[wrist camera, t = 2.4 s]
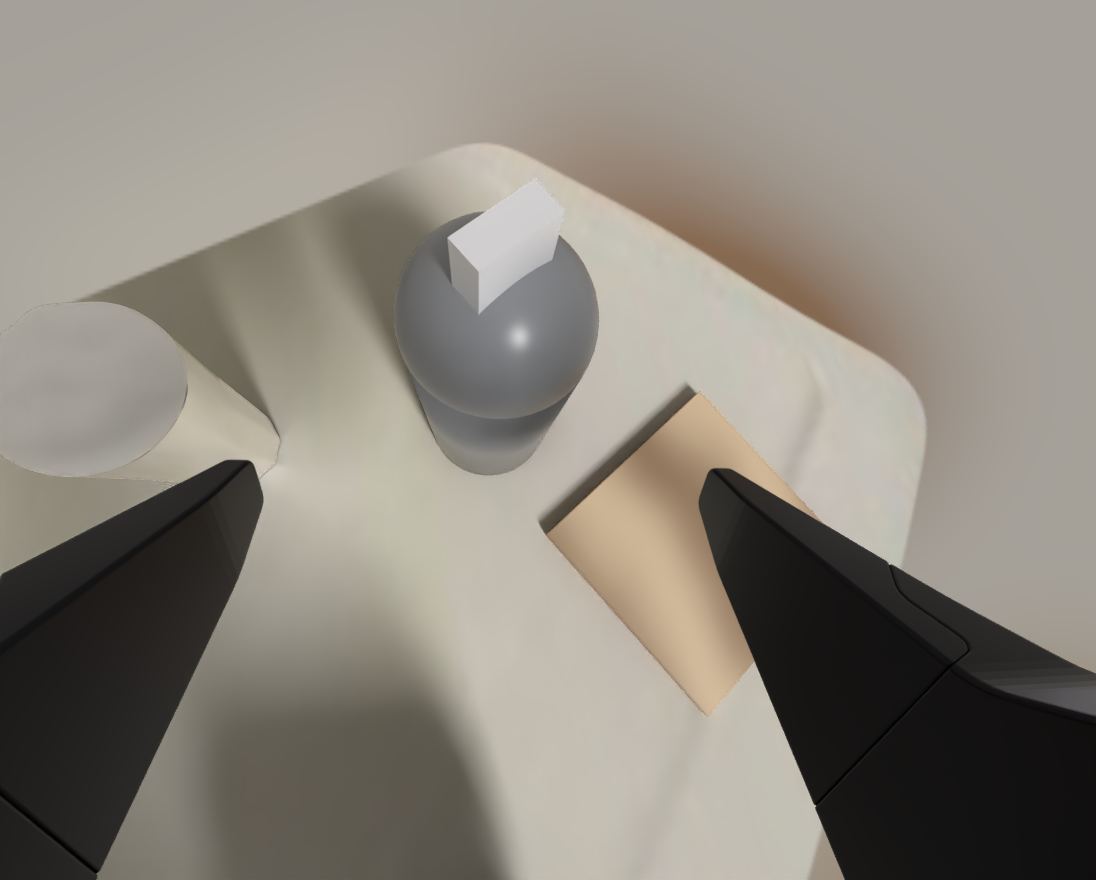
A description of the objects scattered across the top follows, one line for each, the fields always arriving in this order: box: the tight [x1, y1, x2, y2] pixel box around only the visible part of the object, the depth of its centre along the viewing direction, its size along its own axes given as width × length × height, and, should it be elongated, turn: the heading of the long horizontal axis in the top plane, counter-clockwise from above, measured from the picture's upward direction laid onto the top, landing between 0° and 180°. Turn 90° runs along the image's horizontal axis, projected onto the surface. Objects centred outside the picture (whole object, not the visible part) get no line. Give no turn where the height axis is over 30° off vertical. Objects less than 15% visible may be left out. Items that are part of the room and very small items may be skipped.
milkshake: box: [0, 301, 280, 483], centre depth 15 cm, size 4×5×10 cm
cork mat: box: [546, 392, 822, 716], centre depth 21 cm, size 10×10×1 cm
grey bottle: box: [393, 178, 599, 475], centre depth 15 cm, size 5×5×14 cm
